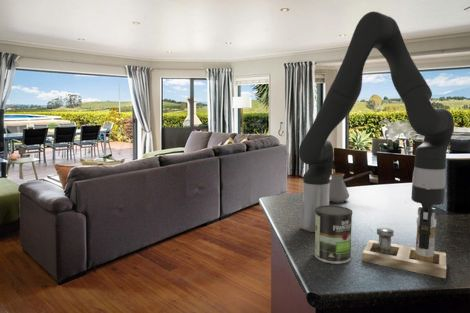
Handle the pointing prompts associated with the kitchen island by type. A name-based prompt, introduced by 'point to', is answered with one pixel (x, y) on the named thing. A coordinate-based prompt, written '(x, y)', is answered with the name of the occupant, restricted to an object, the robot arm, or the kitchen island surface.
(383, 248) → the grey metal bolt
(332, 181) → the coffee pot
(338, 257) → the coffee can
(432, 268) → the bolt-hole plate
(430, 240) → the sprinkles bottle
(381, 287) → the kitchen island surface
